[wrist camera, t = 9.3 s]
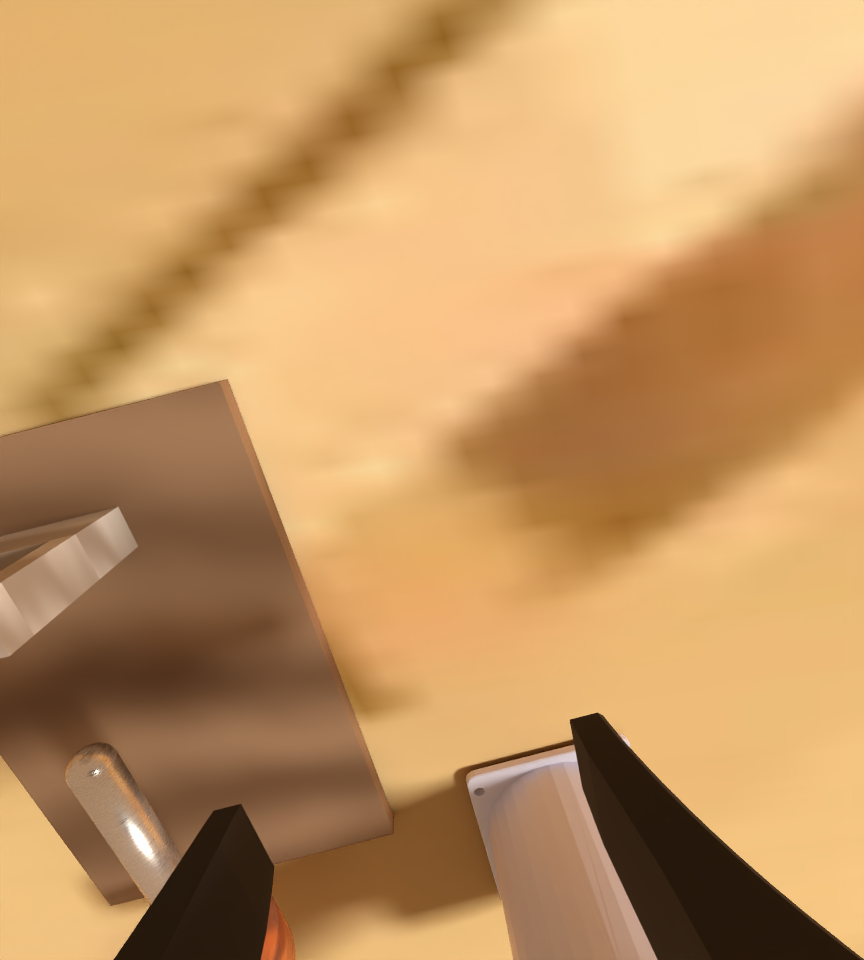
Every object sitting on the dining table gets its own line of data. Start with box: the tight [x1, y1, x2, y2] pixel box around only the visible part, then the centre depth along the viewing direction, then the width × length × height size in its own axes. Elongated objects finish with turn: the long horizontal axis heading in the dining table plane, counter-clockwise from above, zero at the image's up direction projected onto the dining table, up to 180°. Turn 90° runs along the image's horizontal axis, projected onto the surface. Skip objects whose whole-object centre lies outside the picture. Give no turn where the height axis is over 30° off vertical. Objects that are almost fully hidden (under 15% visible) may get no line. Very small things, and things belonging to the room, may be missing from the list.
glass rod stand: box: [65, 742, 295, 960], centre depth 17 cm, size 13×5×5 cm, turn 14°
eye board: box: [0, 379, 394, 906], centre depth 16 cm, size 22×14×7 cm, turn 14°
